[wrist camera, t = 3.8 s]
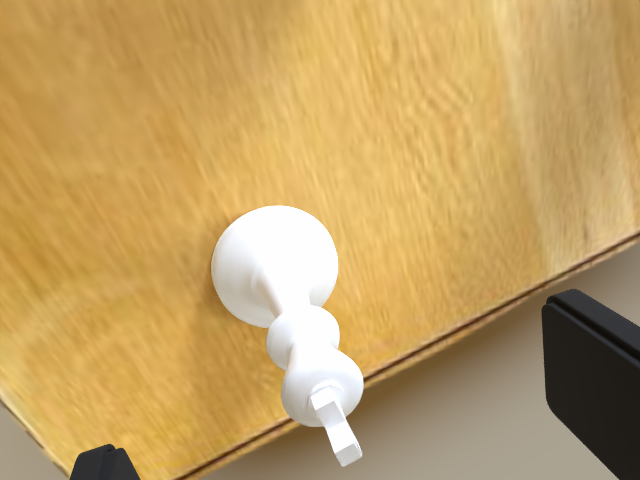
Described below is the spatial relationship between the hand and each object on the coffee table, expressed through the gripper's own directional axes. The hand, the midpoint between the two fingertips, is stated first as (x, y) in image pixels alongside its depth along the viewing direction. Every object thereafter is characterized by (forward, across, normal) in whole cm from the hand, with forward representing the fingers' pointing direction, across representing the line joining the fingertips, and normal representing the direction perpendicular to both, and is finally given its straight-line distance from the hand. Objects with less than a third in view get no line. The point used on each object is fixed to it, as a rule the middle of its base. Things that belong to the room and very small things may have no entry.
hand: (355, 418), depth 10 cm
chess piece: (+9, +1, 0) cm, 9 cm away
